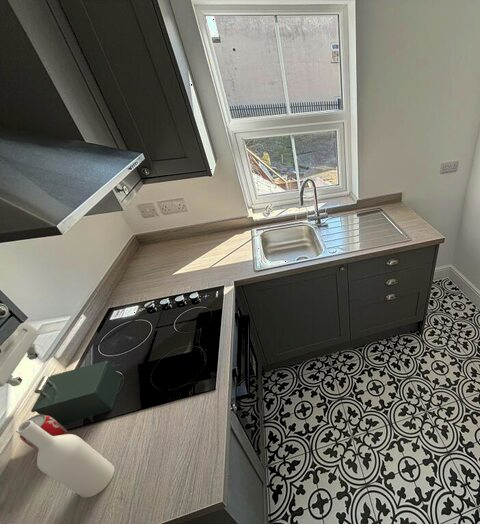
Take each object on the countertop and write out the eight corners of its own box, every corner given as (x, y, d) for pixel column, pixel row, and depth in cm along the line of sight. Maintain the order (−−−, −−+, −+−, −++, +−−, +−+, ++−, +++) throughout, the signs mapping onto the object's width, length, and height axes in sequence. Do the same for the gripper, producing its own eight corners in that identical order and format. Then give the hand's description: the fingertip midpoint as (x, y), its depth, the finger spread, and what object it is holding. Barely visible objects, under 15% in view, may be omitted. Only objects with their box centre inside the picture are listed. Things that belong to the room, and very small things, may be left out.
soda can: (74, 443, 89) (49, 423, 82) (44, 462, 85) (15, 443, 78) (70, 427, 93) (46, 407, 86) (41, 445, 89) (14, 425, 82)
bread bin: (55, 427, 93) (35, 411, 87) (71, 393, 103) (54, 376, 97) (112, 410, 97) (96, 393, 91) (122, 378, 107) (108, 362, 101)
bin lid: (32, 412, 87) (21, 403, 84) (51, 377, 97) (42, 368, 94) (96, 393, 91) (87, 384, 88) (108, 361, 101) (101, 353, 98)
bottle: (94, 502, 76) (14, 451, 59) (72, 492, 78) (-12, 440, 61) (121, 468, 83) (56, 412, 66) (100, 459, 85) (31, 404, 67)
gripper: (0, 316, 85) (32, 346, 93) (-51, 373, 70) (-8, 404, 77) (26, 310, 87) (55, 340, 95) (-18, 365, 71) (21, 396, 79)
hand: (27, 369), depth 86 cm, fingers open, 8 cm apart
